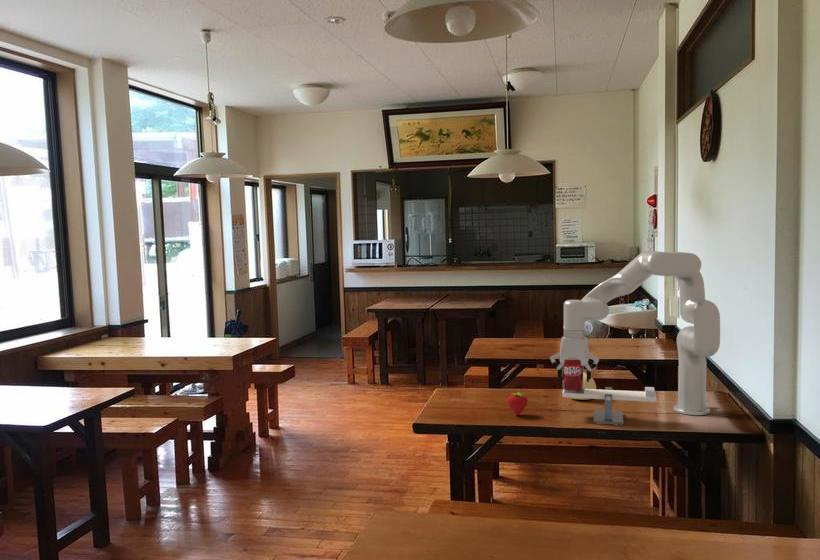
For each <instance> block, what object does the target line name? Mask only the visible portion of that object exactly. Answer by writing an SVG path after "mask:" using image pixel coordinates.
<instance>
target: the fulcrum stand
mask: <svg viewBox="0 0 820 560" xmlns="http://www.w3.org/2000/svg"><path fill="white" fill-rule="evenodd" d="M604 388H605V389H604V390H613V387H611V386H605V387H604ZM594 423H602V424H601V425H604V424H617V425H616V426H619V425H623V426H624V412H623V411H619V410H613V400H612V394H605V399H604V409H603V410H602V409H594V411H593V424H594Z"/></svg>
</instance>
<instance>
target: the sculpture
mask: <svg viewBox="0 0 820 560" xmlns="http://www.w3.org/2000/svg"><path fill="white" fill-rule="evenodd" d="M583 388H585V389H597V385H596V382H595V380H594V378H593V377H592V376H591V379H589V382H587V372H586V371H583ZM569 398H570V399H573V400H582V401H585V400H587V401H588V400H591V399H590V398H571V397H569Z"/></svg>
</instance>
